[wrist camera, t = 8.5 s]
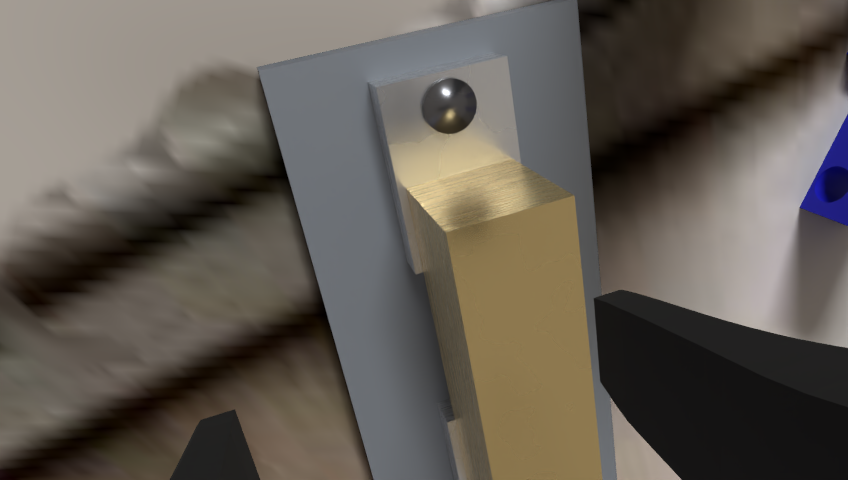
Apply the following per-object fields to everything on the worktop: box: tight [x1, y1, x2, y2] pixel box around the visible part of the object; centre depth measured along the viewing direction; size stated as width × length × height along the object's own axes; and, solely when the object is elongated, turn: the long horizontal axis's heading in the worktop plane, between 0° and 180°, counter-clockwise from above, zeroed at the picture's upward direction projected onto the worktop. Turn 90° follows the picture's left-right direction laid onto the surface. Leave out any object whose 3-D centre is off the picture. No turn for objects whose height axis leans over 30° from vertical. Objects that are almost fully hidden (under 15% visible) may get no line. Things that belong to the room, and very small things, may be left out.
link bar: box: [406, 159, 603, 480], centre depth 21 cm, size 4×12×4 cm, turn 12°
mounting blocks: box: [368, 53, 521, 480], centre depth 23 cm, size 4×18×1 cm, turn 12°
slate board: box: [257, 0, 617, 480], centre depth 24 cm, size 10×20×1 cm, turn 12°
